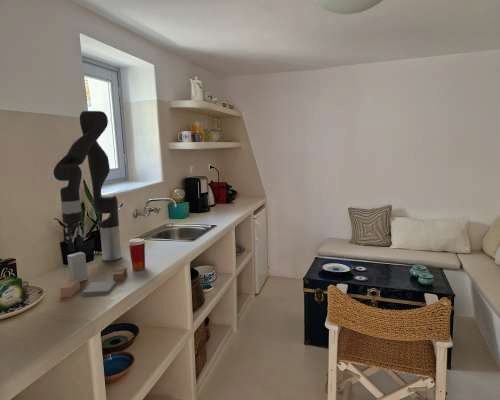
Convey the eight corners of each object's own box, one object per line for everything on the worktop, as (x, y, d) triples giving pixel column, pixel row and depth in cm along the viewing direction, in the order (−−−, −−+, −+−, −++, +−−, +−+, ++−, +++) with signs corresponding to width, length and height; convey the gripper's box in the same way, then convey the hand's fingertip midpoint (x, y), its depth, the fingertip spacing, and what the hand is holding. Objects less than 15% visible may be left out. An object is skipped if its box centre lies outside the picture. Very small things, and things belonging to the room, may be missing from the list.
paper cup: (139, 265, 167) (137, 237, 165) (150, 267, 163) (148, 239, 161) (126, 270, 160) (124, 241, 158) (137, 272, 156) (135, 243, 154)
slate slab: (92, 287, 143) (91, 282, 143) (116, 285, 144) (116, 281, 143) (82, 297, 133) (82, 292, 133) (108, 295, 134) (108, 290, 133)
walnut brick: (118, 276, 153) (117, 267, 153) (127, 275, 154) (126, 267, 153) (113, 283, 145) (112, 274, 145) (123, 282, 146) (122, 273, 145)
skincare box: (83, 277, 153) (81, 251, 151) (88, 279, 150) (85, 253, 148) (69, 281, 148) (66, 255, 146) (74, 283, 145) (71, 256, 144)
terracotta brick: (70, 289, 140) (69, 280, 140) (80, 288, 140) (79, 279, 140) (61, 297, 132) (59, 287, 132) (71, 297, 133) (70, 287, 132)
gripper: (69, 208, 151) (73, 244, 153) (54, 214, 137) (59, 253, 139) (87, 208, 152) (90, 243, 154) (73, 213, 138) (78, 252, 140)
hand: (75, 248), depth 147 cm, fingers open, 8 cm apart
